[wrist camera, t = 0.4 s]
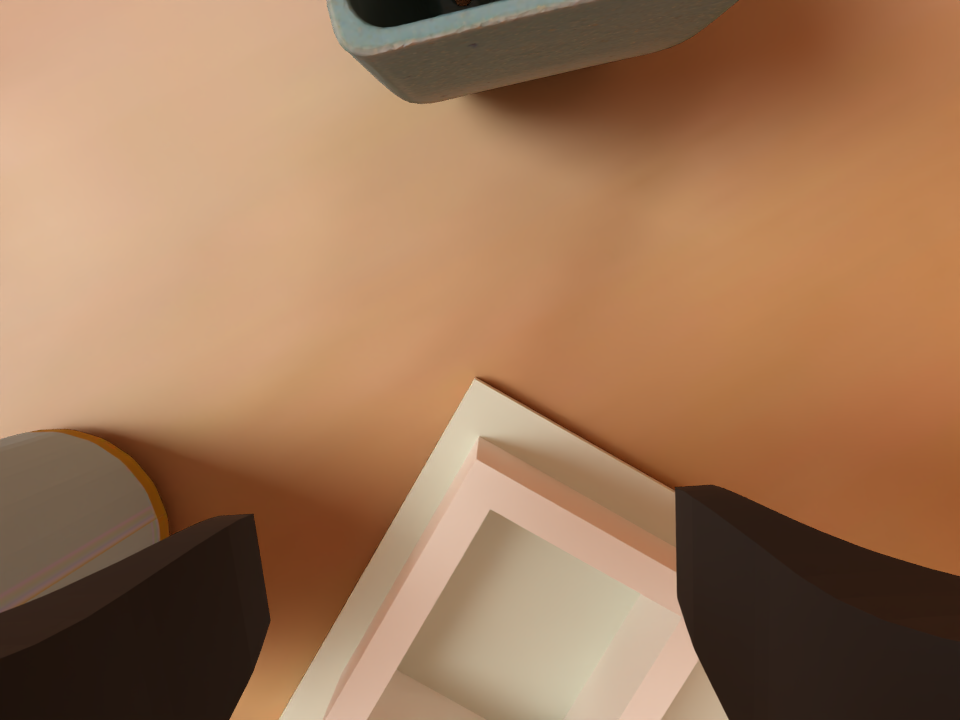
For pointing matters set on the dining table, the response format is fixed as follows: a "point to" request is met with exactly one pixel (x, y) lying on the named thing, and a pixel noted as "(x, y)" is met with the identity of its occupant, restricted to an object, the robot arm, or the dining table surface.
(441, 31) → the flower pot
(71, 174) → the dining table surface
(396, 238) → the dining table surface
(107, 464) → the bottle
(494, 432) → the well board
